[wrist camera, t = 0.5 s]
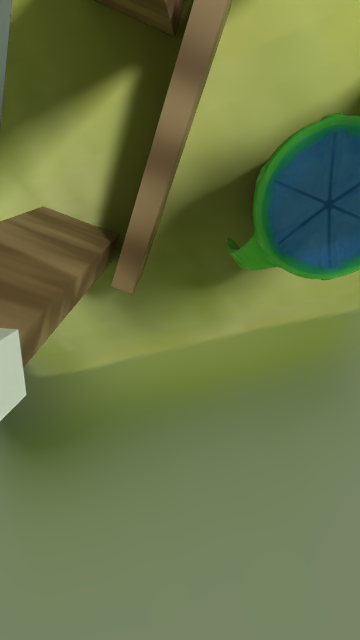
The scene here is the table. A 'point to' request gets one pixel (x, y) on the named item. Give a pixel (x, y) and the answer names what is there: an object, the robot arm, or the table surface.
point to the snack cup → (308, 204)
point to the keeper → (98, 244)
